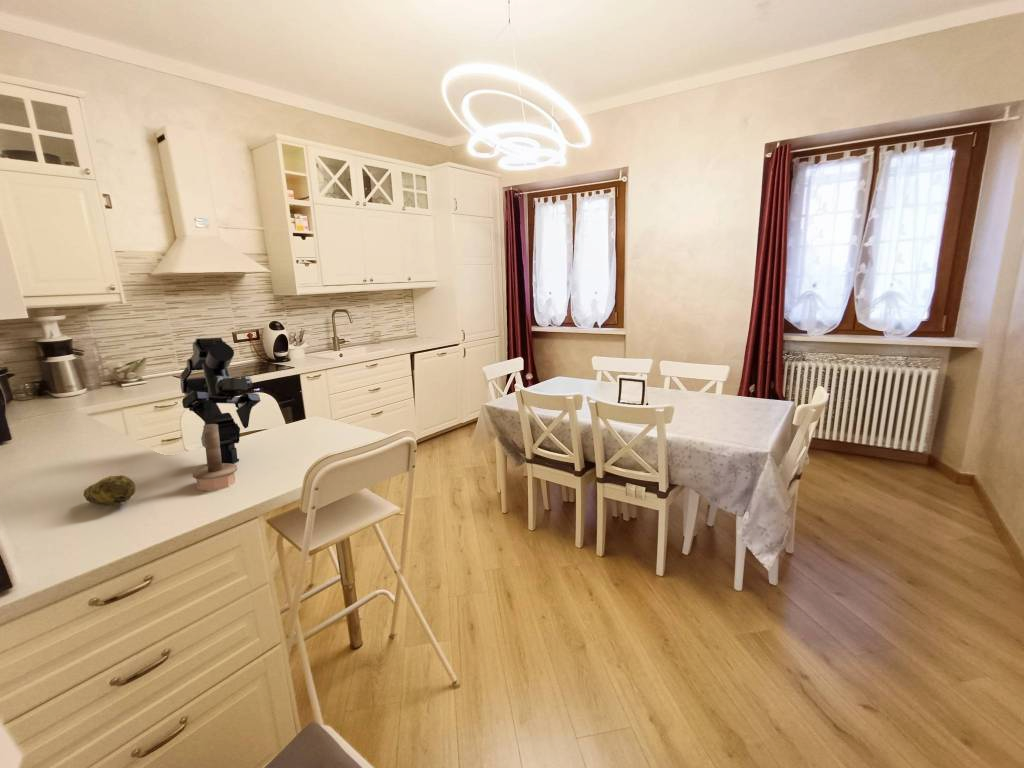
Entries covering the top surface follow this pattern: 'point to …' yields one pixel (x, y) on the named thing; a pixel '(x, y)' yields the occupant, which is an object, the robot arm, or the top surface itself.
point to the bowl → (216, 482)
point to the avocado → (110, 490)
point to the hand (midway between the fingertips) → (230, 428)
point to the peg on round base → (213, 456)
